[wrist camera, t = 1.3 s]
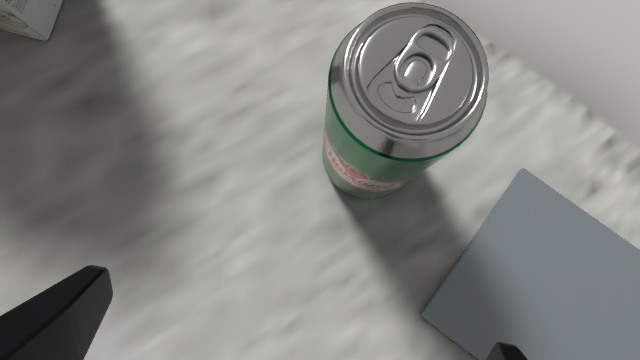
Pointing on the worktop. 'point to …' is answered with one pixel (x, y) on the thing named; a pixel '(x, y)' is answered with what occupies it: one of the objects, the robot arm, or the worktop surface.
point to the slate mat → (542, 282)
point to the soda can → (401, 97)
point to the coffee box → (29, 17)
